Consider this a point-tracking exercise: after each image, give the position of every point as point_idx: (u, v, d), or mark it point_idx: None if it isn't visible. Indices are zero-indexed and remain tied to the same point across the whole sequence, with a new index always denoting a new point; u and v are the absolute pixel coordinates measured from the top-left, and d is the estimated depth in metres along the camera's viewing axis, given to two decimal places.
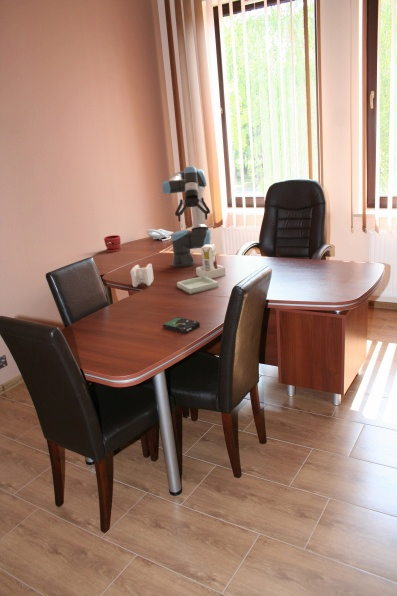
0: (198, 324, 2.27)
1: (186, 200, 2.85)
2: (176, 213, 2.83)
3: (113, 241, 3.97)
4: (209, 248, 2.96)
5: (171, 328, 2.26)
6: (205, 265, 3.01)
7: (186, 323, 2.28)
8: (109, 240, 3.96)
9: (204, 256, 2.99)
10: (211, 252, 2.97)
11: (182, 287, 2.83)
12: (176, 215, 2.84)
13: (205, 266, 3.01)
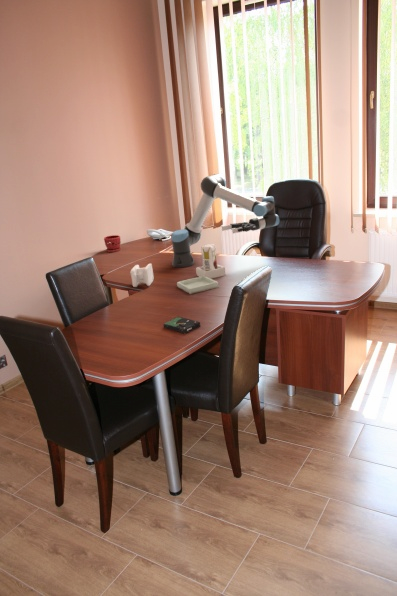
0: (198, 324, 2.27)
1: None
2: (245, 231, 2.99)
3: (113, 241, 3.97)
4: (209, 248, 2.96)
5: (171, 328, 2.27)
6: (205, 265, 3.01)
7: (186, 322, 2.28)
8: (109, 240, 3.96)
9: (204, 256, 2.99)
10: (211, 252, 2.97)
11: (182, 287, 2.83)
12: (245, 229, 2.98)
13: (205, 266, 3.01)
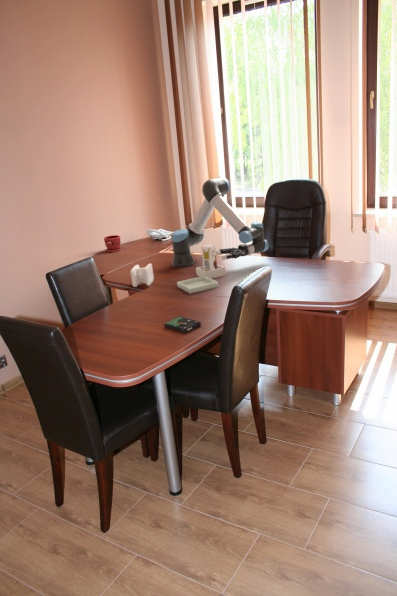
0: (199, 324, 2.27)
1: None
2: None
3: (113, 241, 3.97)
4: (209, 248, 2.96)
5: (172, 327, 2.27)
6: (205, 265, 3.01)
7: (187, 322, 2.28)
8: (109, 240, 3.96)
9: (204, 256, 2.99)
10: (211, 252, 2.97)
11: (182, 287, 2.83)
12: (234, 256, 2.98)
13: (205, 266, 3.01)
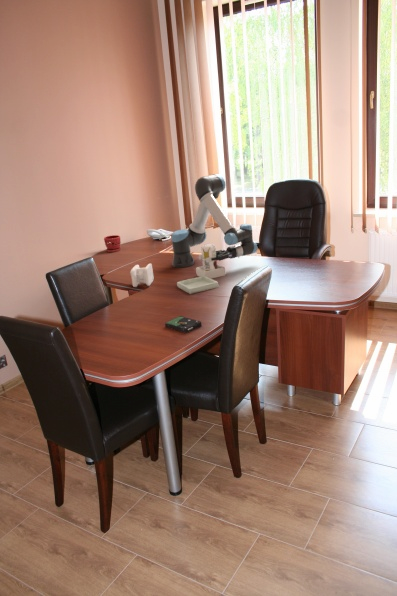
0: (200, 323, 2.27)
1: None
2: (219, 260, 2.98)
3: (113, 241, 3.97)
4: (209, 248, 2.96)
5: (173, 327, 2.27)
6: (205, 265, 3.01)
7: (187, 322, 2.28)
8: (109, 240, 3.96)
9: (204, 256, 2.99)
10: (211, 252, 2.97)
11: (182, 287, 2.83)
12: (218, 258, 2.97)
13: (205, 266, 3.01)
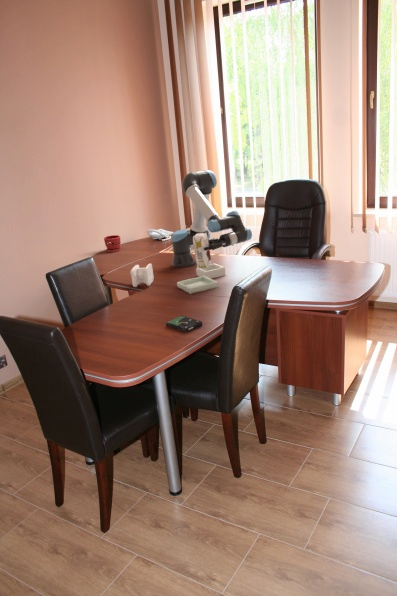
0: (200, 323, 2.27)
1: None
2: (212, 249, 2.79)
3: (113, 241, 3.97)
4: (201, 237, 2.77)
5: (174, 326, 2.28)
6: (198, 256, 2.82)
7: (188, 321, 2.29)
8: (109, 240, 3.96)
9: (196, 246, 2.80)
10: (203, 241, 2.78)
11: (182, 287, 2.83)
12: (211, 247, 2.78)
13: (198, 257, 2.82)
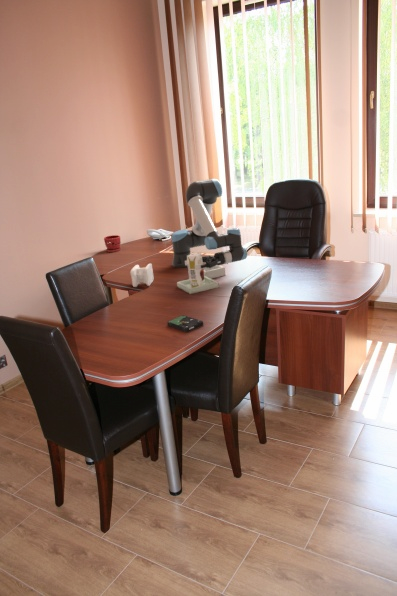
0: (201, 323, 2.27)
1: None
2: (209, 267, 2.76)
3: (113, 241, 3.97)
4: (195, 257, 2.76)
5: (174, 326, 2.28)
6: (191, 275, 2.80)
7: (189, 321, 2.29)
8: (109, 240, 3.96)
9: (190, 265, 2.78)
10: (197, 261, 2.77)
11: (182, 287, 2.83)
12: (208, 265, 2.75)
13: (191, 276, 2.80)
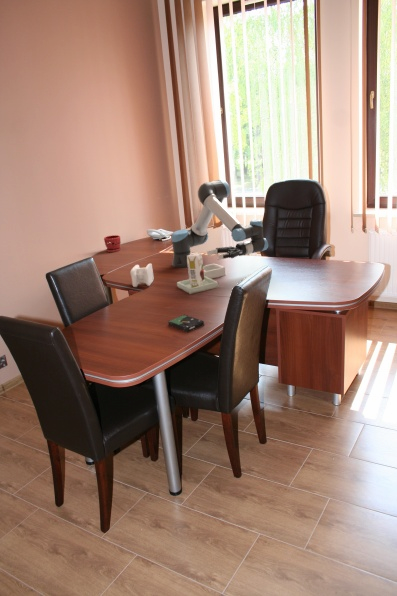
0: (202, 323, 2.27)
1: None
2: None
3: (113, 241, 3.97)
4: (195, 257, 2.76)
5: (175, 326, 2.29)
6: (191, 275, 2.80)
7: (190, 321, 2.29)
8: (109, 240, 3.96)
9: (190, 265, 2.78)
10: (197, 261, 2.77)
11: (182, 287, 2.83)
12: (230, 255, 2.81)
13: (191, 276, 2.80)
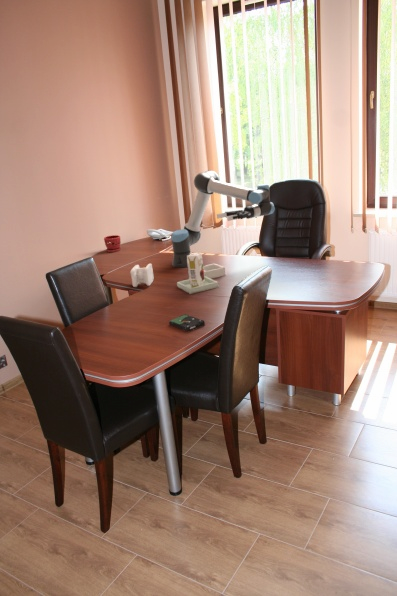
0: (203, 323, 2.28)
1: None
2: None
3: (113, 241, 3.97)
4: (195, 257, 2.76)
5: (176, 325, 2.29)
6: (191, 275, 2.80)
7: (191, 320, 2.29)
8: (109, 240, 3.96)
9: (190, 265, 2.78)
10: (197, 261, 2.77)
11: (182, 287, 2.83)
12: (240, 216, 2.96)
13: (191, 276, 2.80)
